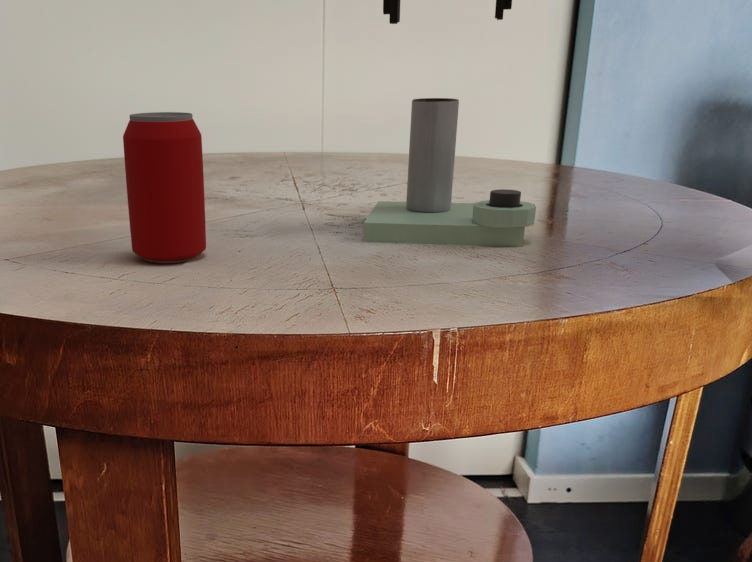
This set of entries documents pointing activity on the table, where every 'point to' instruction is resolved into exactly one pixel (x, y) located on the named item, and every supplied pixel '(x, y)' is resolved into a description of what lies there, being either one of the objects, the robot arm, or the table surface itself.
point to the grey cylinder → (431, 154)
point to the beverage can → (165, 186)
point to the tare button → (505, 198)
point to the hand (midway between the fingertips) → (446, 21)
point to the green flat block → (449, 224)
